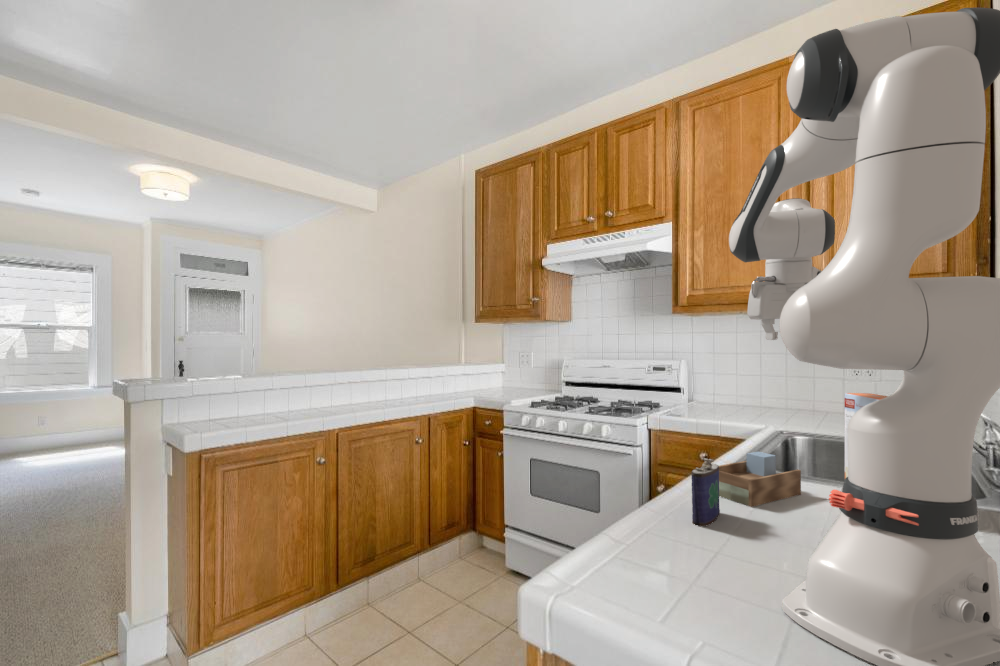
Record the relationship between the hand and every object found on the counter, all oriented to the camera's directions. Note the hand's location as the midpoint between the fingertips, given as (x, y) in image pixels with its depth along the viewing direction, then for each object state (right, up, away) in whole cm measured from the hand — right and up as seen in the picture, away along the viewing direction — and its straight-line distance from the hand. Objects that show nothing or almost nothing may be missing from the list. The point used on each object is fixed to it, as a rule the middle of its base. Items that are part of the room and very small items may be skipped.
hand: (787, 338), depth 104 cm
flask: (-27, -32, -21) cm, 47 cm away
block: (-7, -29, -3) cm, 30 cm away
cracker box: (+10, -32, -13) cm, 36 cm away
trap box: (-11, -32, -7) cm, 35 cm away
